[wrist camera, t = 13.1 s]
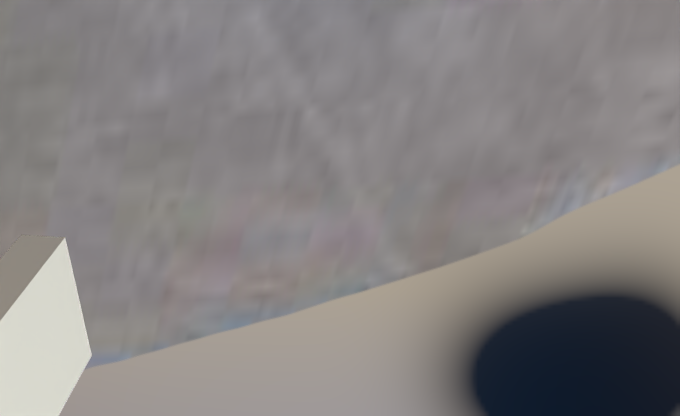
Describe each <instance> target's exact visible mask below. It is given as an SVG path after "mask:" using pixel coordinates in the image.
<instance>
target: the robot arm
mask: <svg viewBox="0 0 680 416" xmlns="http://www.w3.org/2000/svg"><path fill="white" fill-rule="evenodd" d="M91 356H92V355H91V350H90V346H89V342H88V337H87V333H86V328H85V324H84V319H83V315H82V310H81V306H80V302H79V297H78V293H77V288H76V284H75V279H74V275H73V270H72V266H71V261H70V257H69V253H68V248H67V244H66V239H65V237H49V236H31V235H21V236H20V237H19V239H18V240H17V241H16V242H15V243H14V244H13V245H12V246H11V248H10V249H9V250H8V251H7V252H6V253H5V254H4V255H3V257H2V258H1V259H0V416H59V414H60V412H61V410H62V409H63V407H64V405H65V403H66V401H67V399H68V398H69V396H70V394H71V392H72V390H73V389H74V387H75V385H76V383H77V381H78V379H79V378H80V376H81V374H82V372H83V370H84V369H85V367H86V365H87V363H88V361H89V359H90V358H91Z"/></svg>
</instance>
